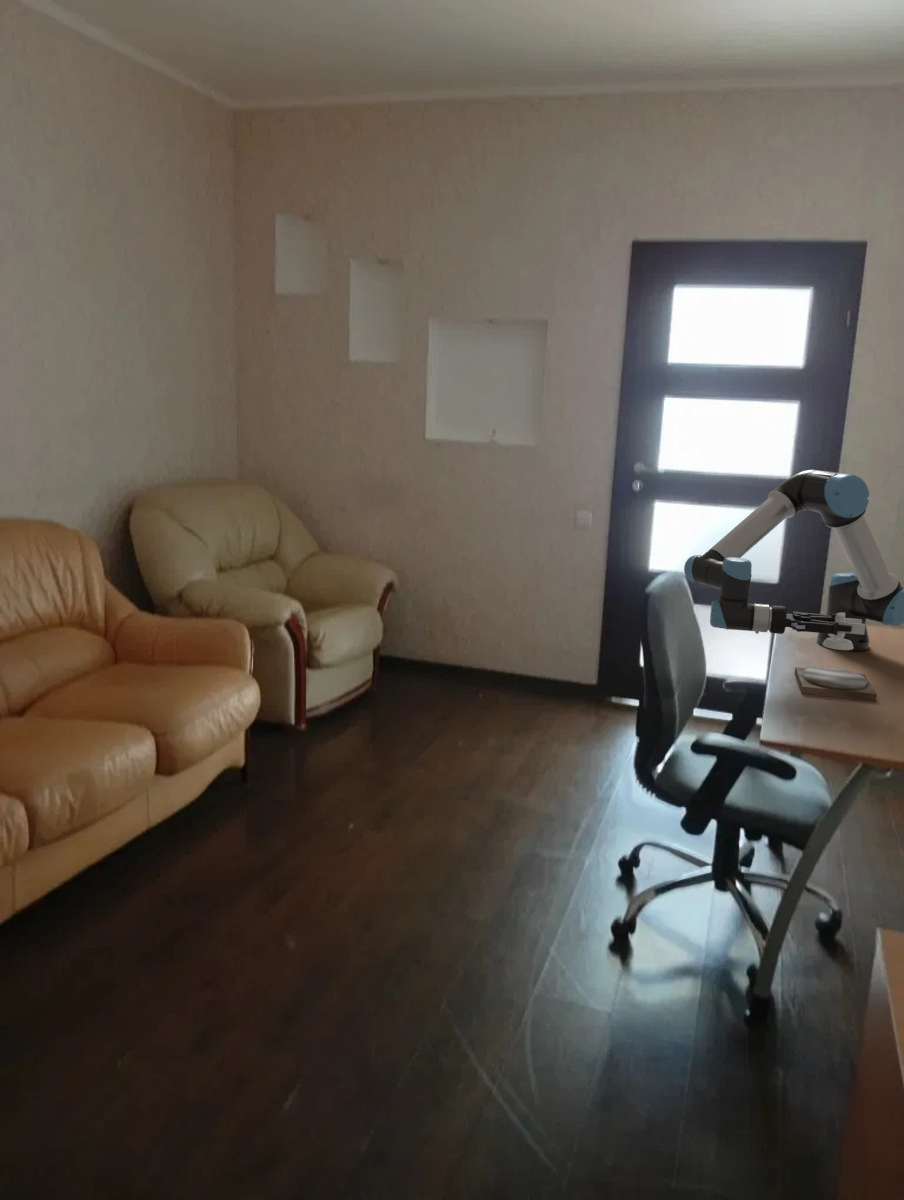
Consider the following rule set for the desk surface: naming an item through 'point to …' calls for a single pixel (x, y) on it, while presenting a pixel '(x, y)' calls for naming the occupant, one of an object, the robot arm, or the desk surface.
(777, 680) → the desk surface
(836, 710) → the desk surface
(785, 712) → the desk surface
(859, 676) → the rosette stand
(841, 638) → the white vr controller
